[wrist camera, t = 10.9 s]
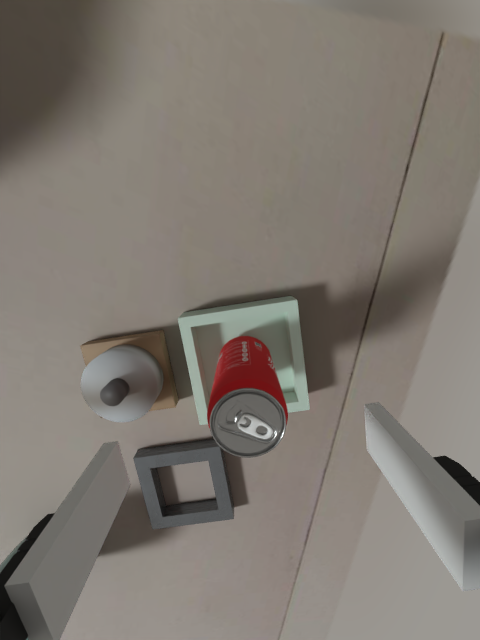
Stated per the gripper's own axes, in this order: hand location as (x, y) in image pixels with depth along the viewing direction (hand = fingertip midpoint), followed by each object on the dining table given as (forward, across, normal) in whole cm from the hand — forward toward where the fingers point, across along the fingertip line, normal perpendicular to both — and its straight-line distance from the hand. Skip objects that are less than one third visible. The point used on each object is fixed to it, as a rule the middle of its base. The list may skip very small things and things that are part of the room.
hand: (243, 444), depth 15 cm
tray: (+15, +1, -1) cm, 15 cm away
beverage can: (+14, 0, 0) cm, 15 cm away
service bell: (+15, -11, -1) cm, 19 cm away
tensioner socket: (+15, -8, -15) cm, 23 cm away
